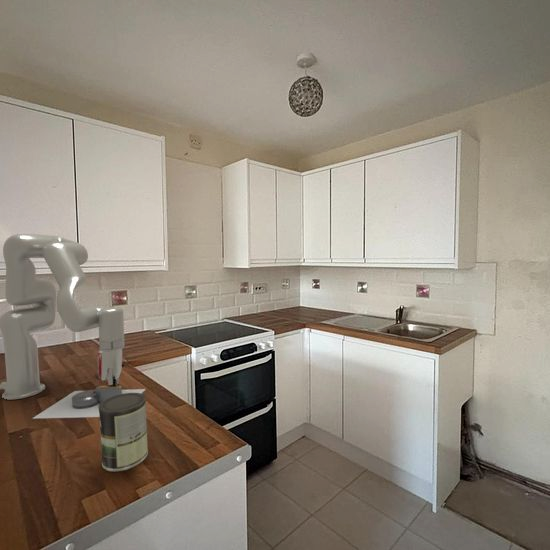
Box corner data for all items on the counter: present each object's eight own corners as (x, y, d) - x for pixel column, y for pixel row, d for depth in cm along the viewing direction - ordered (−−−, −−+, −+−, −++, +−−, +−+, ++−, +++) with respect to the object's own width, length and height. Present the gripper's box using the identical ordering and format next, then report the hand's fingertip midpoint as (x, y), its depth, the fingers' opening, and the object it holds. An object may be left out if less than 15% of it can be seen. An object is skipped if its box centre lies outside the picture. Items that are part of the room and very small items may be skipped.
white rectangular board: (32, 423, 95) (32, 417, 95) (74, 395, 115) (74, 390, 115) (118, 421, 95) (117, 415, 95) (145, 393, 115) (145, 388, 115)
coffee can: (93, 474, 72) (89, 413, 71) (112, 447, 82) (109, 393, 81) (140, 470, 72) (137, 409, 72) (153, 444, 83) (151, 391, 82)
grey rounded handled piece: (65, 407, 101) (64, 391, 101) (84, 395, 110) (84, 380, 110) (112, 408, 100) (111, 392, 99) (128, 396, 109) (127, 381, 108)
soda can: (109, 383, 126) (107, 353, 126) (94, 382, 128) (92, 352, 127) (121, 376, 133) (119, 348, 133) (106, 375, 135) (105, 347, 134)
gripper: (104, 339, 113) (106, 389, 114) (94, 351, 99) (96, 408, 100) (127, 337, 116) (128, 387, 117) (120, 348, 101) (122, 404, 102)
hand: (114, 396), depth 108 cm, fingers closed
